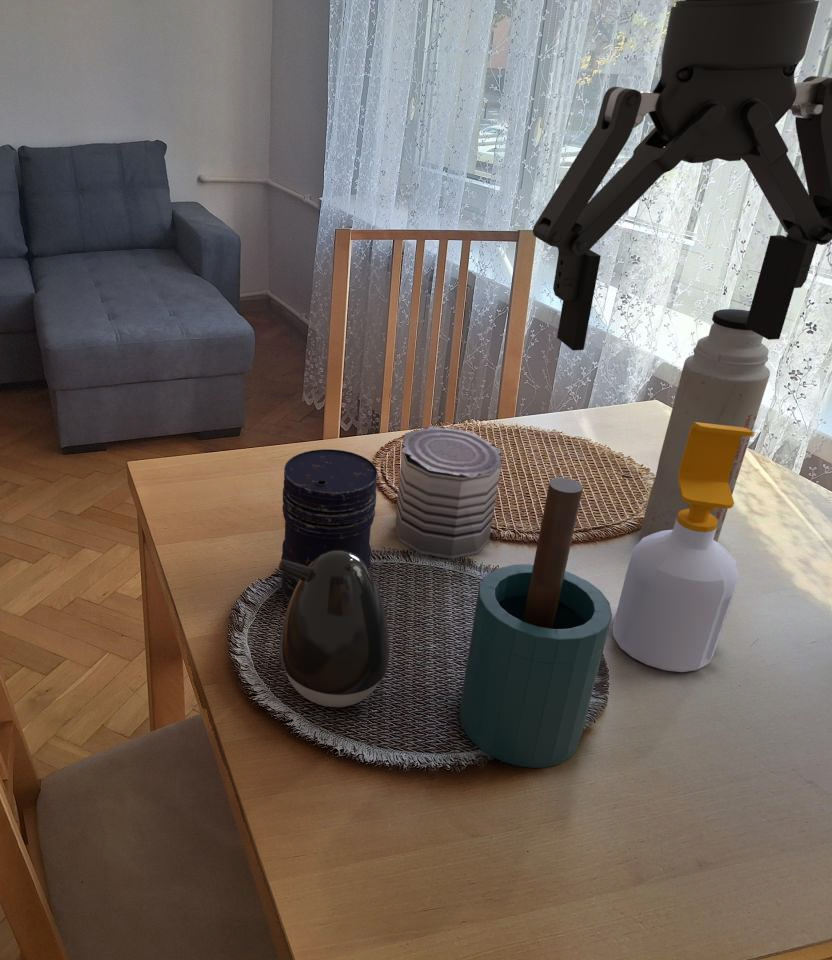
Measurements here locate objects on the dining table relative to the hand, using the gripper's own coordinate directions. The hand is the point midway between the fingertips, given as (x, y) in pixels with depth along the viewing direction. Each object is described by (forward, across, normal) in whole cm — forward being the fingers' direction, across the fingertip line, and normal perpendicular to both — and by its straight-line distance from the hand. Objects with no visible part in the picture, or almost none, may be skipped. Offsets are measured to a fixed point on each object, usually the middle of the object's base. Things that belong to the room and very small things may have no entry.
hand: (665, 339), depth 60 cm
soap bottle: (+36, -12, -10) cm, 40 cm away
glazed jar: (+36, +6, 0) cm, 36 cm away
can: (+36, +3, -32) cm, 48 cm away
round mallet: (+35, +6, 0) cm, 36 cm away
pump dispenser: (+36, +22, -6) cm, 42 cm away
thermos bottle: (+36, -24, -28) cm, 51 cm away
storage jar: (+36, +20, -22) cm, 46 cm away
